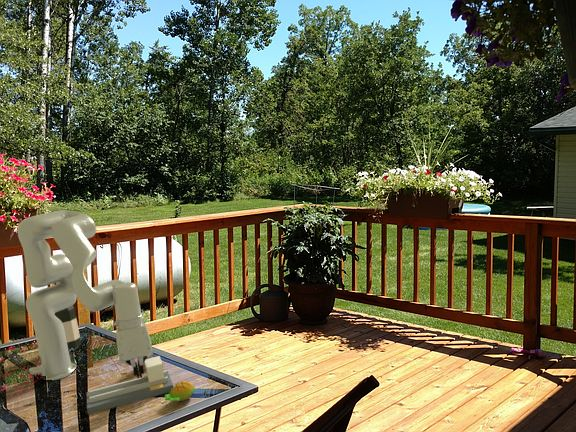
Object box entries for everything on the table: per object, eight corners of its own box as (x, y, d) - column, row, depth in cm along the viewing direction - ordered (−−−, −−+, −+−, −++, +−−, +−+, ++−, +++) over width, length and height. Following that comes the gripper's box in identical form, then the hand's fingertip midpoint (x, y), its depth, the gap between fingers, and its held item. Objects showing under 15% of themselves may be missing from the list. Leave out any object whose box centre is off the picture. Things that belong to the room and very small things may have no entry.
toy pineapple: (200, 395, 169) (198, 378, 168) (177, 411, 161) (174, 394, 160) (185, 391, 173) (182, 375, 172) (161, 406, 165) (158, 390, 164)
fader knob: (149, 386, 174) (146, 367, 172) (147, 378, 180) (144, 359, 179) (165, 382, 175) (162, 363, 174) (162, 374, 182) (159, 355, 181)
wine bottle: (64, 346, 227) (50, 276, 222) (84, 343, 227) (71, 273, 223) (57, 354, 219) (43, 282, 214) (79, 350, 219) (64, 278, 214)
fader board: (88, 414, 165) (86, 403, 165) (87, 397, 177) (85, 387, 176) (174, 390, 174) (172, 380, 173) (168, 376, 185) (167, 366, 184)
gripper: (105, 331, 167) (115, 387, 170) (155, 320, 171) (164, 375, 174) (105, 323, 174) (114, 377, 177) (152, 313, 178) (161, 366, 181)
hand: (139, 376), depth 176 cm, fingers closed
